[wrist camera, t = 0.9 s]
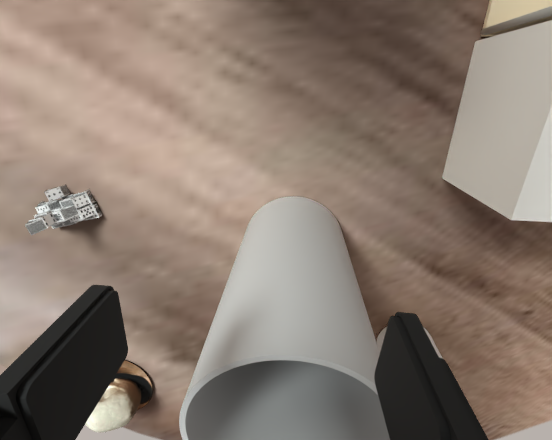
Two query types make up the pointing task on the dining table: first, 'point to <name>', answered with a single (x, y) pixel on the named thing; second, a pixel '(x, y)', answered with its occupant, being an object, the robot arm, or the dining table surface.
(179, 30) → the dining table surface
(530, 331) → the dining table surface
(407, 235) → the dining table surface
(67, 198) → the house of cards
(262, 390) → the cylinder vase
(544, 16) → the door
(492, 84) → the carton
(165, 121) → the dining table surface
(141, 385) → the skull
